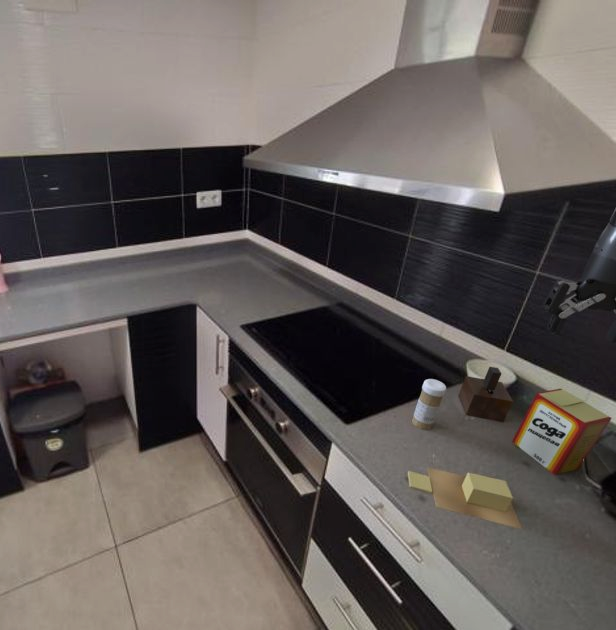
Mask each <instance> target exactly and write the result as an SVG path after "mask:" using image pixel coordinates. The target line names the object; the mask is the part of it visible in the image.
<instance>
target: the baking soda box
mask: <svg viewBox="0 0 616 630" xmlns="http://www.w3.org/2000/svg"><path fill="white" fill-rule="evenodd" d="M611 421H612V417H611V416H609V415H608V414H606V413H604V412H602V411H601V410H598V409H597V408H595V407H593V406H591V404H588V403H587V402H585V401H584V400H583V399H581V398H579V397H578V396H576V395H574V394H572V393H570V392H568V391H566V390H564V389H563V388H557V389H556V388H555V389H551V390H544V391H540V392H536V394H535V395H534V398H533V399H532V401H531V403H530V405H529V407H528V409H527V411H526V413H525V414H524V417H523V419H522V420H521V422H520V424H519V427H518V429H517V430H516V433H515V434H514V437H513V439H512V440H511V442H512V443H513V444H514V445H516V446H517V447H518V448H519V449H520V450H522V451H523V452H525V453H526V454H528V456H530V457H531V458H532V459H534V460H535V461H536V462H538V463H539V464H540V465H541V466H542V467H544V468H545V469H546V470H548V471H549V472H550V473H552V474H553V475H555V476H556V475H559V474H564V473H569V472H572V471H577V470H579V469H580V468H581V467H582V465H583V463H584V462H583V459H585V460H586V459H587V457H588V456H589V454H590V452H591V451H592V449H593V448H594V447H595V445H596V443H597V442H598V440H600V439H599V438H600V437H601V436H602V434H603V433H604V431H605V430H606V428H607V427H608V425H609V423H610V422H611Z"/></svg>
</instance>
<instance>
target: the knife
mask: <svg viewBox="0 0 616 630" xmlns="http://www.w3.org/2000/svg"><path fill="white" fill-rule="evenodd" d="M501 377H502V372H501V370H500V369H499V367H495V366H489V367H488V370H487V372H486V374H485V376H484V378H483V379H484V381H483V384H484V386H485V388H486V390H487V392H488V393H490V394H491V390H495V388H496V385H497V383H498V382H500V381H499V380H500V378H501Z"/></svg>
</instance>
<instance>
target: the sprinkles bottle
mask: <svg viewBox="0 0 616 630" xmlns="http://www.w3.org/2000/svg"><path fill="white" fill-rule="evenodd" d="M446 391H447V386H446V385H445V383H443V382H442V381H440V380H438V379H434V378H428V379H425V380H424V381H423V384H422V386H421V393H420V395H419V398H418V401H417V404H416V407H415V409H414V413H413V417H412V419H411V422H412V424H413V425H414V426H415V427H416V428H418V429H421V430H426V431H428V430H431V429H432V427H433V424H434V422H435V419H436V418H437V414H438V413H439V409H440V406H441V403H442V399H443V397H444V396H445V394H446Z"/></svg>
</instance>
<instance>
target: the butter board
mask: <svg viewBox="0 0 616 630" xmlns="http://www.w3.org/2000/svg"><path fill="white" fill-rule="evenodd" d="M426 469H427V473H428V476H429V477H430V482H431V487H432V494H433V499H434V503H435V507H436V508H439V509H443V510H447V511H451V512H455V513H458V514H462V515H466V516H469V517H473V518H477V519H481V520H484V521H485V520H486V521H489V522H492V523H496V524H499V525H504V526H507V527H511V528H515V529H518V530H523V527H522V524H521V522H520V520H519V517H518V515H517V513H516V511H515V507H514V505H513V503H512V502H511V503H510V505H509V506H508V508H507V510H506V512H503V511H499V510H495V509H492V508H488V507H484V506H480V505H476V504H472V503H468V502H467V501H466V498H465V495H464V491H463V488H462V484H463V482H464V480H465V478H466V476H467V475H462V474H457V473H455V472H454V473H453V472H449V471H444V470H440V469H438V468H437V469H436V468H432V467H429V466H427V467H426Z"/></svg>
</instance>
